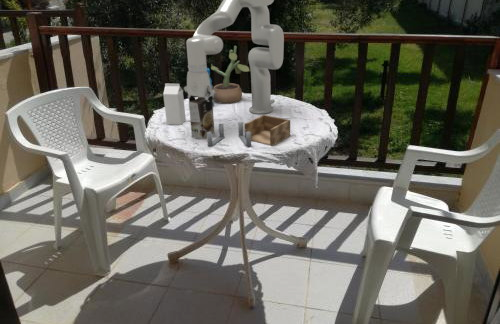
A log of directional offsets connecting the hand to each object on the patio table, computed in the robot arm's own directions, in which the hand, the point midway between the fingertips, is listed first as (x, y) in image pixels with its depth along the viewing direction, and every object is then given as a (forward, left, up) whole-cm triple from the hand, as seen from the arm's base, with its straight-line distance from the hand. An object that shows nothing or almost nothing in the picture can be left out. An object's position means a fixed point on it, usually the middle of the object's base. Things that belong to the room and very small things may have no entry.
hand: (200, 108), depth 183 cm
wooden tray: (-12, +26, -12) cm, 31 cm away
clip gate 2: (-4, +20, -12) cm, 24 cm away
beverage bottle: (-33, -28, -13) cm, 45 cm away
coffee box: (0, 0, -13) cm, 13 cm away
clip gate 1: (+3, +10, -12) cm, 16 cm away
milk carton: (-6, -23, -13) cm, 27 cm away
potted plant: (-48, -23, -13) cm, 55 cm away
